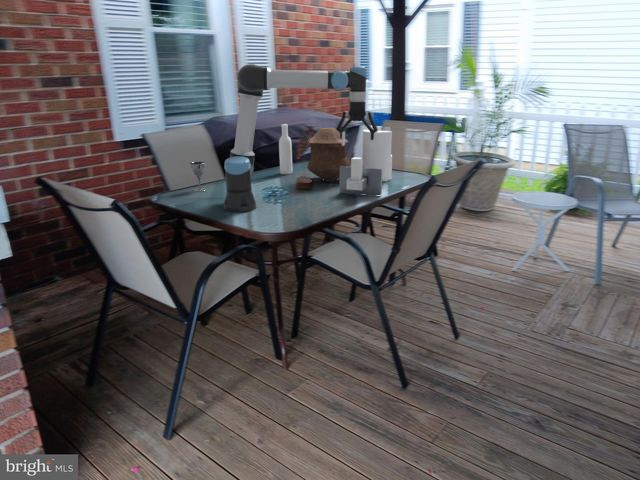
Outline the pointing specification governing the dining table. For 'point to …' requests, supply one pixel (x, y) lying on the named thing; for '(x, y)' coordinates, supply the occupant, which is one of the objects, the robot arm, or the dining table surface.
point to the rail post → (356, 168)
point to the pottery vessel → (327, 154)
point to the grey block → (367, 186)
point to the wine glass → (198, 172)
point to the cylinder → (378, 152)
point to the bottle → (285, 151)
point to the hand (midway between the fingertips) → (356, 146)
